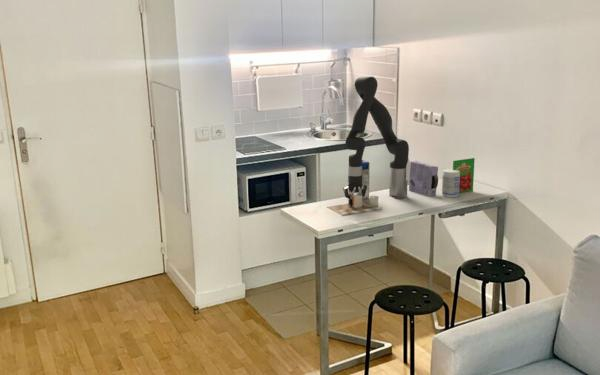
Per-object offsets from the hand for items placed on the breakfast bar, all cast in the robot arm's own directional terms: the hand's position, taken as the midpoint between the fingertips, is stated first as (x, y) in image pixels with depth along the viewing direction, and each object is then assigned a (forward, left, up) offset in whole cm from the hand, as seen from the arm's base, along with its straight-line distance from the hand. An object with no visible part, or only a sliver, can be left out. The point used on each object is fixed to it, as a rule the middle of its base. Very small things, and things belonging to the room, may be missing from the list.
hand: (355, 204), depth 350 cm
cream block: (0, 0, -1) cm, 1 cm away
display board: (+3, +4, -2) cm, 5 cm away
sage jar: (-7, +8, -1) cm, 11 cm away
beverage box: (-10, -13, -2) cm, 17 cm away
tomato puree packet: (-69, +5, -2) cm, 69 cm away
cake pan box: (-49, -6, -2) cm, 49 cm away
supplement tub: (-59, +6, -2) cm, 60 cm away
